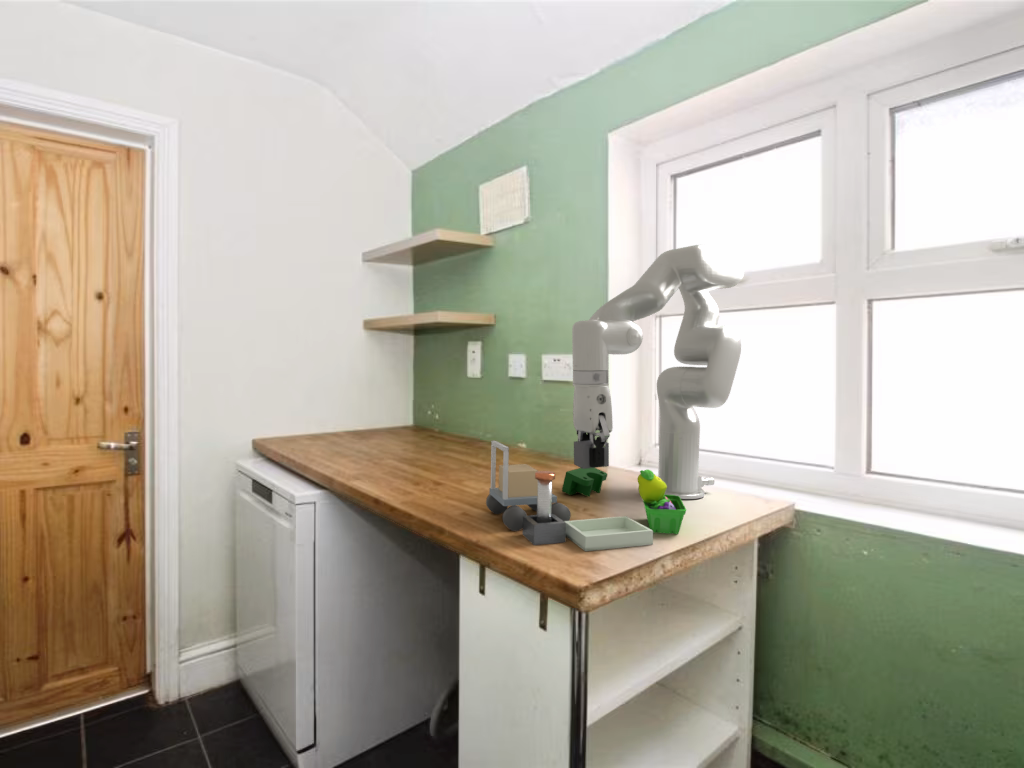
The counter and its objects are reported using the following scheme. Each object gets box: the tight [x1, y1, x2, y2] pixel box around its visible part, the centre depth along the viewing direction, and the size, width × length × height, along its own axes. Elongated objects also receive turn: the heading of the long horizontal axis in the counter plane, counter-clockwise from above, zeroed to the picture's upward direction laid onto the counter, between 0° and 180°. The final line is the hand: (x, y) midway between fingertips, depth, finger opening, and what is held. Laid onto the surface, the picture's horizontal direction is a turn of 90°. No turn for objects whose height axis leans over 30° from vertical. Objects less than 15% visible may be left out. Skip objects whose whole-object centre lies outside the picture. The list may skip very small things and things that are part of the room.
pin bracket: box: [522, 514, 567, 546], centre depth 96 cm, size 6×6×4 cm
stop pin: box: [535, 470, 556, 523], centre depth 96 cm, size 4×4×12 cm
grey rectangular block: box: [573, 440, 610, 469], centre depth 113 cm, size 6×4×5 cm
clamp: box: [561, 467, 608, 498], centre depth 131 cm, size 12×6×9 cm, turn 135°
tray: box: [564, 515, 654, 552], centre depth 96 cm, size 13×9×2 cm
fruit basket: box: [637, 469, 687, 535], centre depth 105 cm, size 11×9×11 cm
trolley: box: [485, 440, 572, 532], centre depth 108 cm, size 13×14×16 cm
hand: (591, 463), depth 114 cm, fingers closed on grey rectangular block, 4 cm apart
